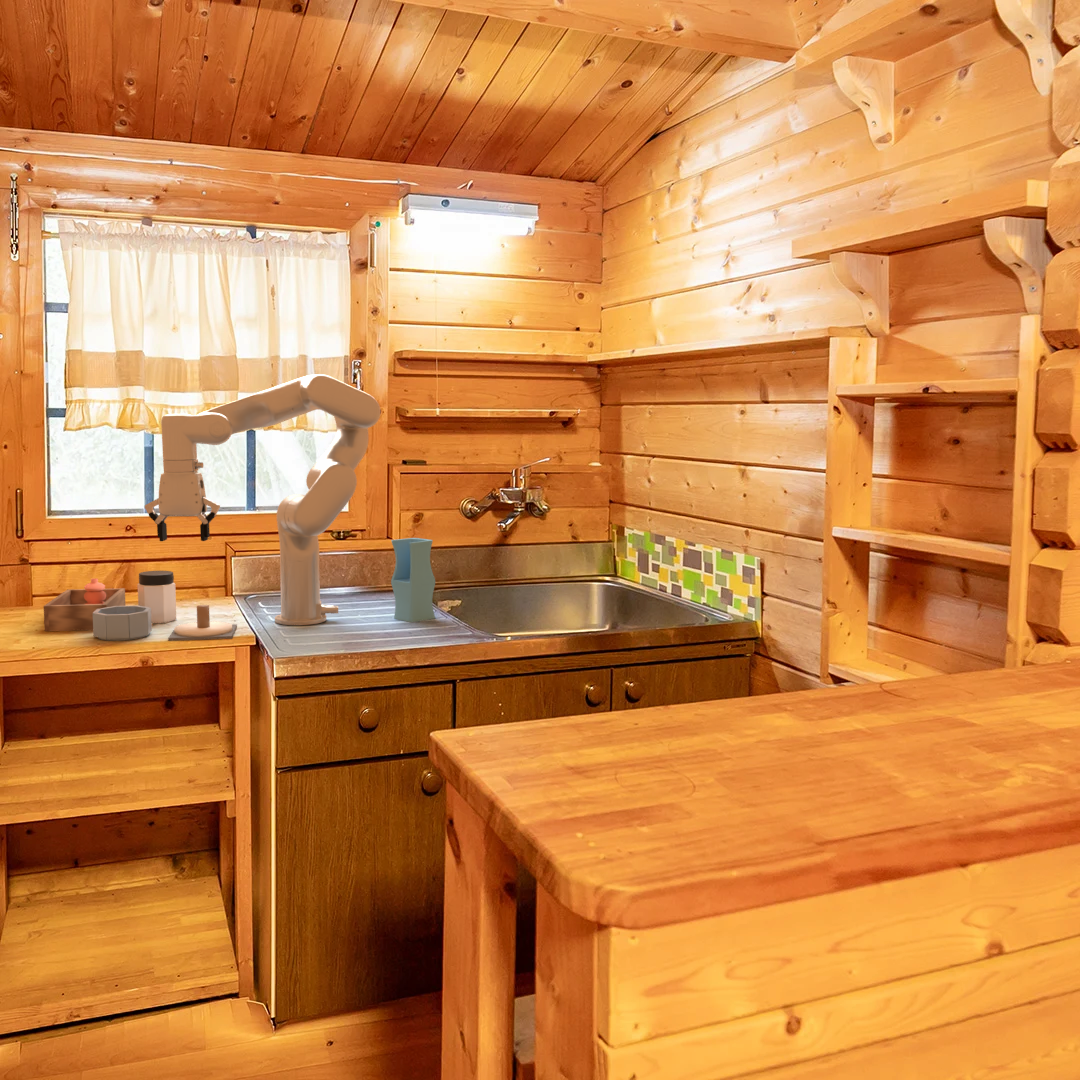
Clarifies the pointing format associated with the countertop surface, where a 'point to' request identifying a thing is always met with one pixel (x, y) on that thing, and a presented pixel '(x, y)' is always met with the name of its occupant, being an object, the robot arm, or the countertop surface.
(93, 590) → the pottery
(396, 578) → the vase
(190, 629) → the lid
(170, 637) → the mat
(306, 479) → the robot arm
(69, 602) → the tray
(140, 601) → the jar
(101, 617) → the bowl
